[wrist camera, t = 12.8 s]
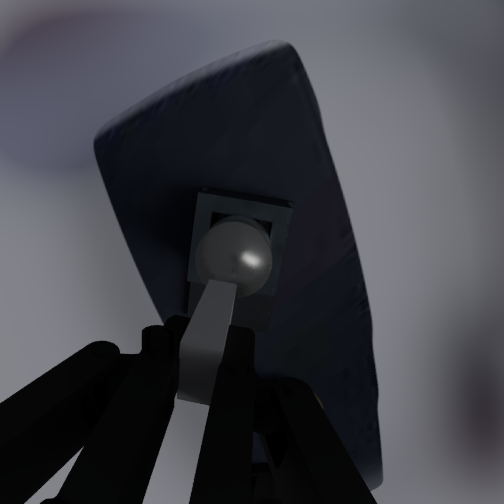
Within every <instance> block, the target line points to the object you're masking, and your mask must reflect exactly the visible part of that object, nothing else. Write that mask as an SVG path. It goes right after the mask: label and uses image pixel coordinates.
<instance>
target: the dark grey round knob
mask: <svg viewBox="0 0 504 504" xmlns="http://www.w3.org/2000/svg"><path fill="white" fill-rule="evenodd" d="M195 267H196V271H197V274H198V276H199V278H200V279H201V281H202V282H203V284H204V285H205V286H207V284H208V282H209V280H210V279H211V280H216V281H222V282H227V283H233V284H237V288H236V294H235V298H241V297H245V296H249V295H251V294H253V293H255V292H256V291H258V290H259V289H260V288H261V287H262V286H263V285H264V284H265V283H266V281H267V280H268V278H269V276H270V273H271V269H272V252H271V242H270V238H269V236H268V234H267V232H266V230H265V229H264V228H263V227H262V225H261V224H259V223H258V222H257V221H255V220H254V219H253V218H249V217H246V216H241V215H233V216H228V217H225V218H223V219H221V220H219V221H217V222H216V223H215V224H214V225H213V226H212V227H211V228H210V229H209V230H208V232H207V233H206V234H205V235H204V236H203V238H202V239H201V240H200V242H199V244H198V246H197V248H196V252H195Z"/></svg>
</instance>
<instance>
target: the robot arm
mask: <svg viewBox="0 0 504 504" xmlns="http://www.w3.org/2000/svg"><path fill="white" fill-rule="evenodd" d="M236 288H237V284H233V283H227V282H222V281H216V280H211V279H210V280H209V282H208V284H207V286H206V288H205V290H204V292H203V295H202V297H201V299H200V301H199V303H198V305H197V307H196V310H195V312H194V314H193V316H192V318H188V317H183V316H178V315H174V316H172V317H170V318H168V319H167V321H166V322H165V324H164V326H161V325H153V326H149V327H146V328H144V329H143V330H142V350H141V352H140V353H139V354H120V350H119V348H118V346H116V345H115V344H114V343H111V342H108V341H95V342H93V343H90V344H88V345H87V346H85V347H84V348H83V349H81V350H79V351H78V352H76V353H75V354H73V355H72V356H70V357H69V358H67V359H66V360H64V361H63V362H61V363H60V364H58V365H57V366H55V367H54V368H52V369H51V370H49V371H48V372H46V373H45V374H43V375H42V376H40V377H39V378H37V379H36V380H34V381H33V382H31V383H30V384H28V385H27V386H25V387H24V388H22V389H21V390H19V391H18V392H16V393H15V394H13V395H12V396H10V397H9V398H7V399H6V400H4V401H3V402H1V403H0V504H24V503H25V502H26V501H27V500H28V499H29V498H30V497H32V496H33V495H34V494H35V493H36V492H37V491H38V490H39V489H40V488H41V487H42V486H43V485H44V484H45V483H46V482H47V481H48V480H49V479H50V478H51V477H53V476H54V475H55V474H56V473H57V472H58V471H59V470H60V469H61V468H62V467H63V466H64V465H65V464H66V463H67V462H68V461H69V460H70V459H71V458H72V457H73V456H74V455H75V454H76V453H77V452H78V451H79V450H80V449H81V448H82V447H83V446H84V447H83V449H82V451H81V452H80V454H79V456H78V458H77V460H76V462H75V463H74V465H73V467H72V469H71V471H70V472H69V474H68V476H67V478H66V480H65V482H64V483H63V485H62V487H61V489H60V491H59V493H58V494H57V496H56V497H54V498H51V499H45V500H44V501H42V502H41V503H40V504H142V503H143V499H144V496H145V493H146V490H147V487H148V484H149V481H150V478H151V475H152V472H153V469H154V466H155V462H156V459H157V457H158V454H159V451H160V447H161V445H162V442H163V439H164V436H165V433H166V430H167V427H168V424H169V421H170V418H171V415H172V412H173V409H174V398H175V395H176V393H177V399H181V400H186V401H190V402H195V403H200V404H205V405H210V407H209V412H208V417H207V421H206V426H205V431H204V435H203V440H202V445H201V450H200V454H199V459H198V463H197V468H196V473H195V478H194V482H193V487H192V492H191V497H190V501H189V504H377V502H376V501H375V499H374V497H373V496H372V494H371V492H370V490H369V489H368V487H367V485H366V484H365V482H364V480H363V478H362V477H361V475H360V473H359V472H358V470H357V468H356V466H355V465H354V463H353V461H352V459H351V458H350V456H349V454H348V453H347V451H346V449H345V447H344V446H343V444H342V442H341V440H340V439H339V437H338V435H337V433H336V432H335V430H334V428H333V426H332V425H331V423H330V421H329V419H328V418H327V416H326V414H325V412H324V410H323V409H322V407H321V405H320V403H319V402H318V400H317V398H316V396H315V395H314V393H313V391H312V389H311V388H310V386H309V385H308V384H307V383H305V382H304V381H302V380H300V379H297V378H291V377H286V378H281V379H279V380H277V381H276V383H272V382H270V381H267V380H265V379H263V378H261V377H260V376H259V375H258V374H257V373H256V372H255V368H254V347H255V334H254V332H253V331H252V329H251V328H246V327H241V326H235V325H230V324H231V318H232V312H233V306H234V300H235V294H236ZM253 431H254V432H257V433H260V439H261V442H262V445H263V448H264V451H265V454H266V457H267V460H268V464H258V465H252V444H253Z"/></svg>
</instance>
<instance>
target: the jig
mask: <svg viewBox="0 0 504 504" xmlns="http://www.w3.org/2000/svg"><path fill="white" fill-rule="evenodd" d="M293 206H294V202H292V201H287V200H281V199H276V198H270V197H265V196H259V195H253V194H248V193H242V192H236V191H230V190H223V189H217V188H211V187H203V189H202V191H201V192H198V197H197V204H196V211H195V218H194V226H193V234H192V242H191V250H190V259H189V267H188V277H187V281H190V291H189V301H188V312H187V317H188V318H192V316H193V314H194V312H195V310H196V307H197V305H198V303H199V301H200V299H201V297H202V295H203V292H204V290H205V288H206V286H205V285H204V284H203V282H202V281H201V279H200V278H199V276H198V274H197V271H196V267H195V252H196V248H197V246H198V244H199V242H200V240H201V239H202V238H203V236H204V235H205V234H206V233H207V232H208V230H209V229H210V228H211V227H212V226H213V225H214V224H215V223H216V222H217V221H219V220H221V219H223V218H225V217H228V216H233V215H241V216H246V217H249V218H253V219H254V220H255V221H257V222H258V223H259V224H261V225H262V227H263V228H264V229H265V230H266V232H267V234H268V236H269V238H270V242H271V252H272V269H271V273H270V276H269V278H268V280H267V281H266V283H265V284H264V285H263V286H262V287H261V288H260V289H259V290H258V291H256V292H255V293H253V294H251V295H249V296H245V297H241V298H235V300H234V306H233V312H232V318H231V324H230V325H235V326H241V327H246V328H251V329H252V330H254V331H260V332H267V329H268V325H269V320H270V316H271V311H272V307H273V302H274V298H275V293H276V288H277V284H278V279H279V274H280V270H281V265H282V260H283V255H284V251H285V246H286V241H287V236H288V231H289V226H290V221H291V216H292V211H293Z"/></svg>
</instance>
